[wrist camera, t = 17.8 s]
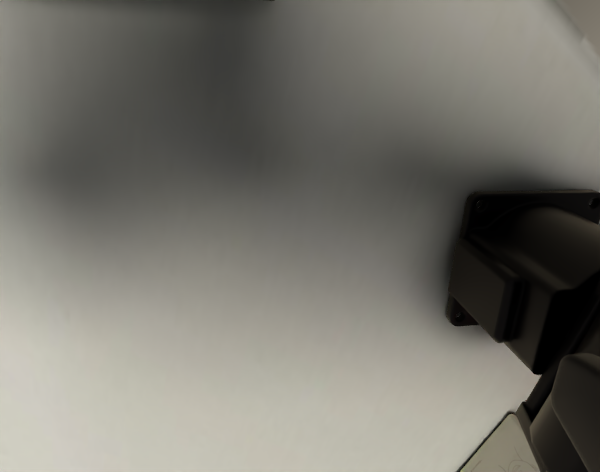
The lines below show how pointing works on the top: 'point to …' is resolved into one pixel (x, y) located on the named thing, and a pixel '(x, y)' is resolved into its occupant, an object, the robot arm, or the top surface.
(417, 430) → the top surface
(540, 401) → the robot arm
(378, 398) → the top surface
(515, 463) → the small box
